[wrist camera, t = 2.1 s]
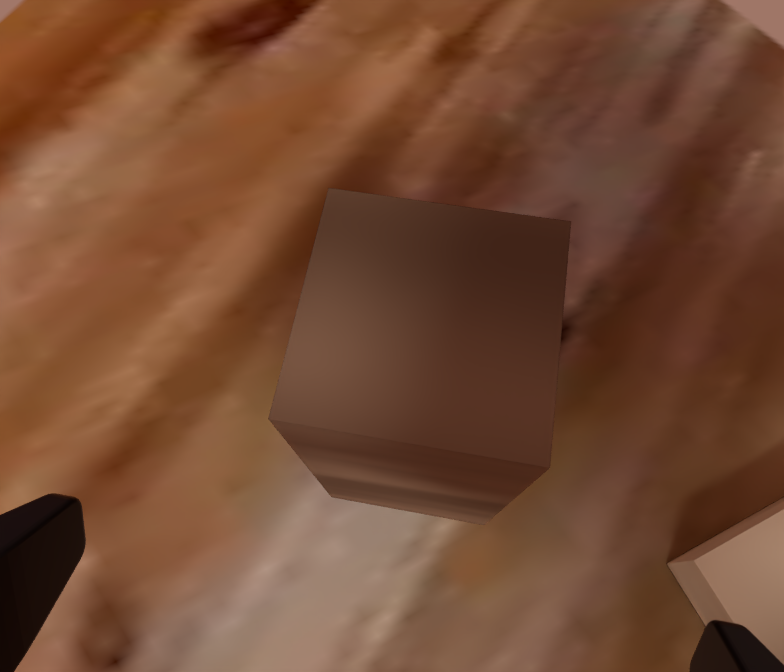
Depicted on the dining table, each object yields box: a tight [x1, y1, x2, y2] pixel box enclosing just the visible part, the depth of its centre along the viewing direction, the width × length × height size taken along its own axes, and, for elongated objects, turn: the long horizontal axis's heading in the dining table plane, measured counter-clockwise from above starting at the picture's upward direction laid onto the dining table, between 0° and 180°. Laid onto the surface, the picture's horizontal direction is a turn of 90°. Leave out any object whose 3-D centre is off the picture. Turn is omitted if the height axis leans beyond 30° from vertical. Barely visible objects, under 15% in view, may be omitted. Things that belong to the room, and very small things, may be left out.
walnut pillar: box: [268, 188, 571, 525], centre depth 17 cm, size 5×5×10 cm
